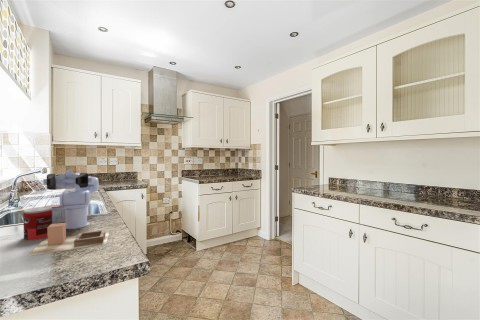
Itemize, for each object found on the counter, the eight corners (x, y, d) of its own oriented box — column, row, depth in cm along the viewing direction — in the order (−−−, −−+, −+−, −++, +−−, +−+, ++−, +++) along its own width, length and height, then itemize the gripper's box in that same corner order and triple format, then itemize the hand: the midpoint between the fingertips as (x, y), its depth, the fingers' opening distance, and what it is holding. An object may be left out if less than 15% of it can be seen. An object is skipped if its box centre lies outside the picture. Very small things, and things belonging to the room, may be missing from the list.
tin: (74, 219, 108) (73, 202, 108) (76, 221, 106) (75, 203, 106) (31, 227, 97) (31, 208, 96) (33, 229, 95) (32, 209, 94)
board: (43, 243, 79) (43, 234, 79) (109, 234, 88) (109, 226, 88) (27, 259, 67) (26, 249, 67) (106, 247, 75) (105, 238, 75)
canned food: (30, 236, 86) (29, 207, 85) (56, 234, 88) (55, 205, 88) (19, 244, 78) (18, 212, 78) (47, 241, 81) (46, 210, 81)
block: (51, 241, 78) (51, 224, 78) (66, 239, 80) (65, 222, 80) (47, 245, 74) (47, 227, 74) (62, 243, 76) (62, 225, 76)
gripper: (49, 171, 87) (35, 170, 74) (94, 169, 93) (88, 168, 81) (49, 189, 86) (35, 191, 74) (94, 187, 93) (88, 188, 80)
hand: (63, 181), depth 77 cm, fingers open, 7 cm apart
